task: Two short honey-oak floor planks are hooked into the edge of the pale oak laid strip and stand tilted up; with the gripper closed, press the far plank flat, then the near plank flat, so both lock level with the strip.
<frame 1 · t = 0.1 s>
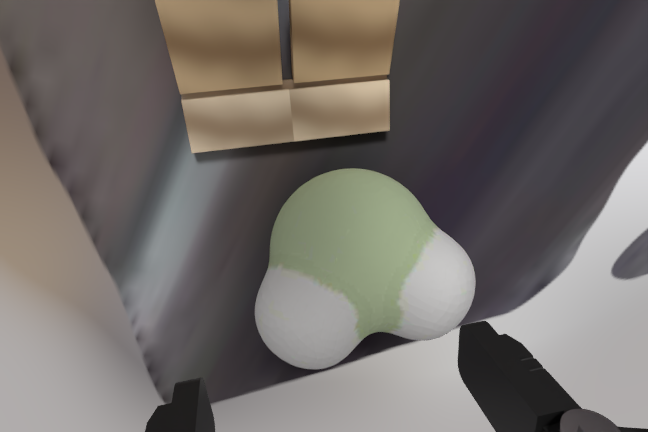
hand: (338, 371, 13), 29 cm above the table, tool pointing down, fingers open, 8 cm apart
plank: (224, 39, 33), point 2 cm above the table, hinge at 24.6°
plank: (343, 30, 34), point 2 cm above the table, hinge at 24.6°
laid strip: (290, 113, 38), on the table
toy: (334, 219, 44), on the table
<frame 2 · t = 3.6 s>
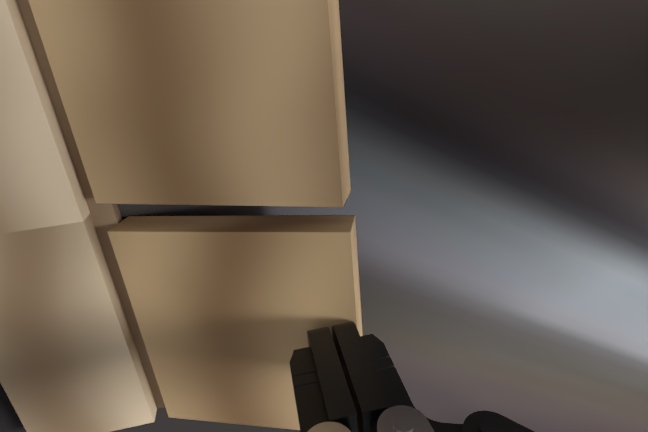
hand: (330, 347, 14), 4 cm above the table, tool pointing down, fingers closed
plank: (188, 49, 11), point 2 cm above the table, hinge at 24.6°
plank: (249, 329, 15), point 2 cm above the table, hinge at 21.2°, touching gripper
laid strip: (24, 217, 14), on the table
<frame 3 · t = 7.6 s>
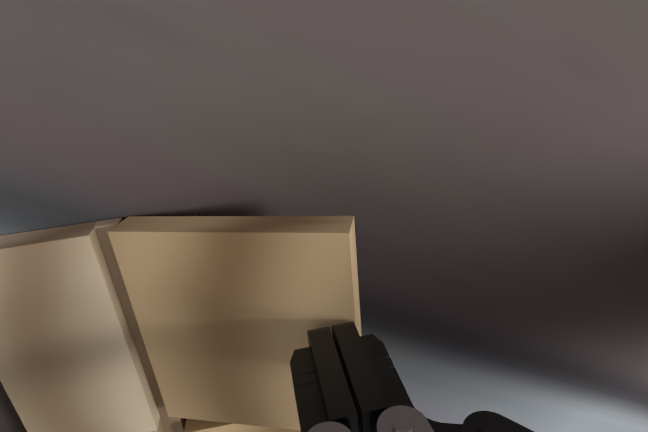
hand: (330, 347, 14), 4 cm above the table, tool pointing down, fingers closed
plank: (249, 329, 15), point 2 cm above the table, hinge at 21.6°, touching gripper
laid strip: (107, 418, 18), on the table
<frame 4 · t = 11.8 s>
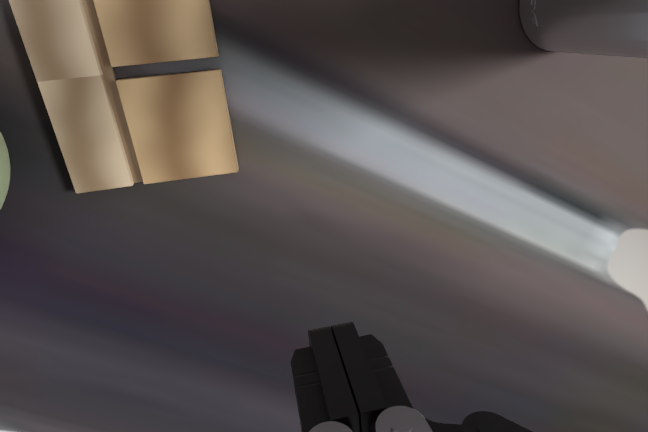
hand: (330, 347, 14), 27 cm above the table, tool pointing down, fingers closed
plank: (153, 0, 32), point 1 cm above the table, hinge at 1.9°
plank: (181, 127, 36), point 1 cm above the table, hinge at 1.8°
laid strip: (74, 77, 33), on the table
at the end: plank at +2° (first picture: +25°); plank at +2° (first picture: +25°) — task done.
